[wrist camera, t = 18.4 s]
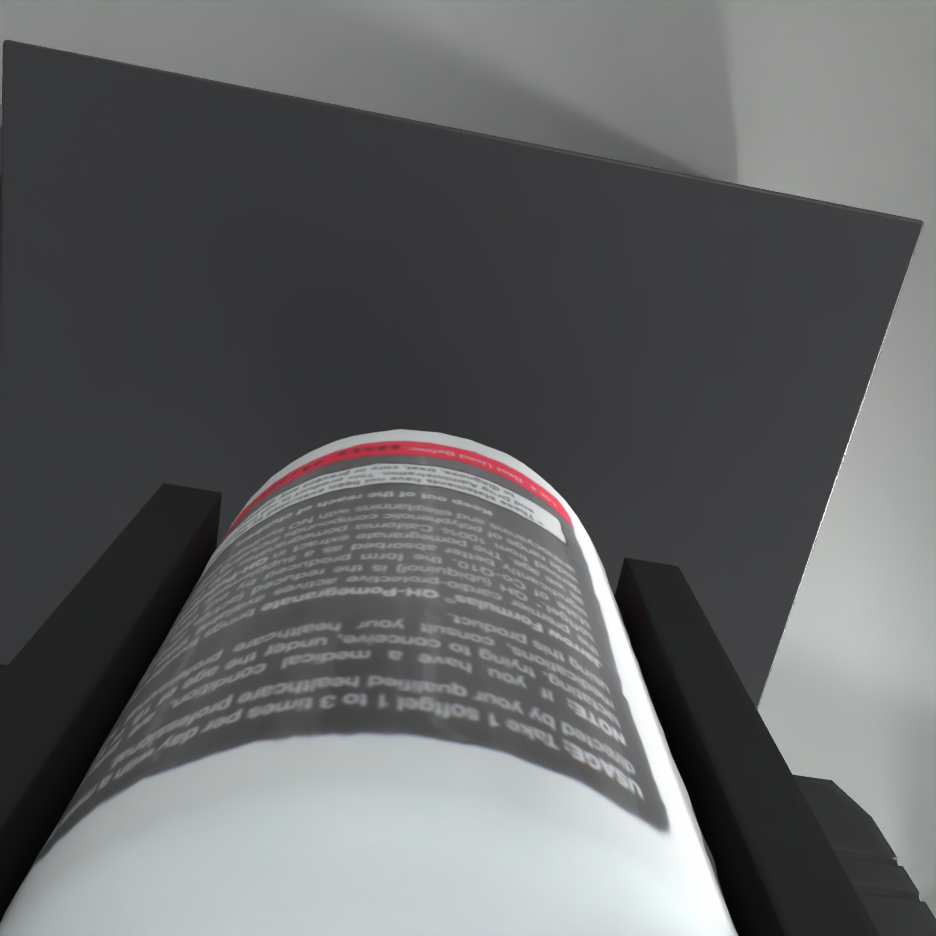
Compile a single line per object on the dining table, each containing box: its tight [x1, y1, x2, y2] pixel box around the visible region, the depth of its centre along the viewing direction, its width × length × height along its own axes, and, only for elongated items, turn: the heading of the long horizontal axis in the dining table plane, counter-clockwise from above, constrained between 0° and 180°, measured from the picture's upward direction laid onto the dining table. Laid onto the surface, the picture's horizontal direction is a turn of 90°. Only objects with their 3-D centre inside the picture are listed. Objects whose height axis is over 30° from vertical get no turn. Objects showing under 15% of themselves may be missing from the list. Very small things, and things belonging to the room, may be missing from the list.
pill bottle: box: [0, 429, 739, 936], centre depth 8 cm, size 5×5×10 cm
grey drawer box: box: [0, 40, 924, 710], centre depth 20 cm, size 15×13×10 cm
